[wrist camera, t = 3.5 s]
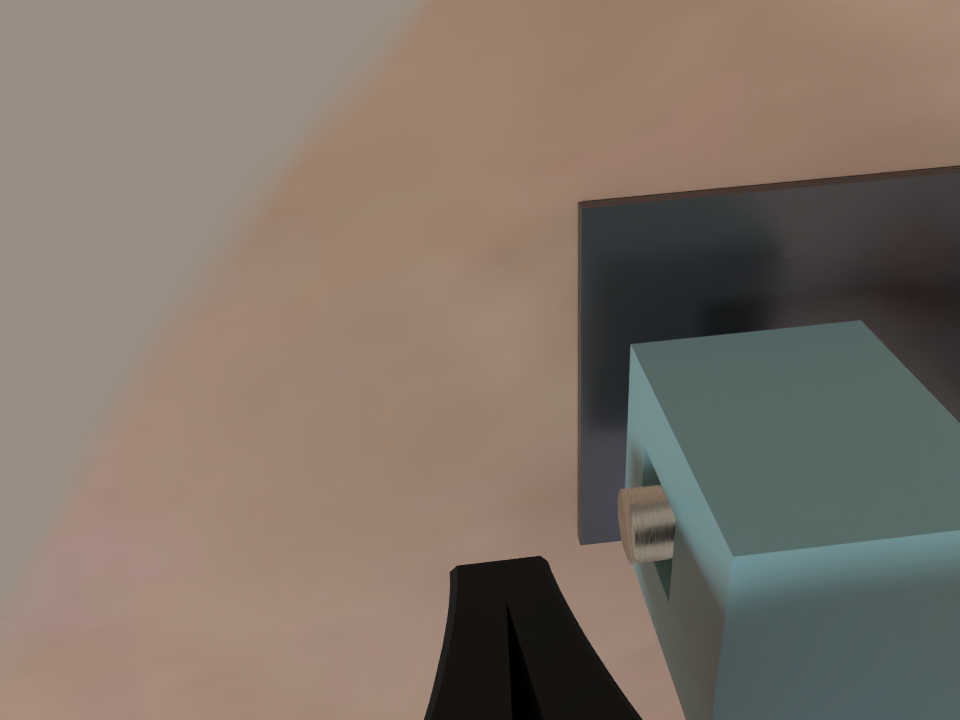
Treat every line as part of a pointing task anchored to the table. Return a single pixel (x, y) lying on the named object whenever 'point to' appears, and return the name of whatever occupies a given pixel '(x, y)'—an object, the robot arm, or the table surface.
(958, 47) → the table surface
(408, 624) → the table surface
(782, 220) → the grey metal stand
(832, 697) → the teal block on rod
